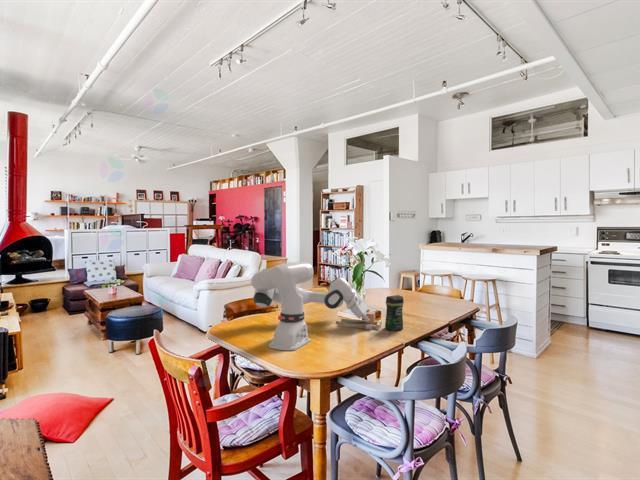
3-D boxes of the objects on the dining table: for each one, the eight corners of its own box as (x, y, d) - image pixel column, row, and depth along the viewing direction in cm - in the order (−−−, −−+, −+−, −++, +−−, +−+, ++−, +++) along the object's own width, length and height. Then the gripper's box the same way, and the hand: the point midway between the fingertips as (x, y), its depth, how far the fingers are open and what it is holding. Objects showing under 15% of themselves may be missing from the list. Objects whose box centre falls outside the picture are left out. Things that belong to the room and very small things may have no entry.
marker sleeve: (373, 327, 200) (373, 314, 199) (366, 327, 201) (366, 313, 200) (375, 325, 204) (375, 311, 204) (368, 324, 206) (368, 311, 205)
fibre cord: (378, 326, 202) (378, 324, 202) (377, 327, 201) (377, 325, 201) (336, 323, 209) (336, 320, 209) (336, 323, 208) (336, 321, 208)
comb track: (378, 331, 195) (378, 325, 194) (336, 327, 202) (336, 321, 202) (382, 324, 207) (382, 319, 207) (342, 320, 215) (342, 315, 214)
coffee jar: (392, 332, 193) (392, 298, 192) (382, 328, 200) (383, 295, 199) (405, 329, 198) (406, 296, 197) (396, 325, 205) (396, 293, 204)
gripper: (354, 299, 215) (370, 317, 213) (345, 308, 196) (363, 327, 194) (361, 293, 214) (377, 310, 211) (353, 300, 194) (371, 320, 192)
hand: (370, 318), depth 202 cm, fingers open, 8 cm apart
